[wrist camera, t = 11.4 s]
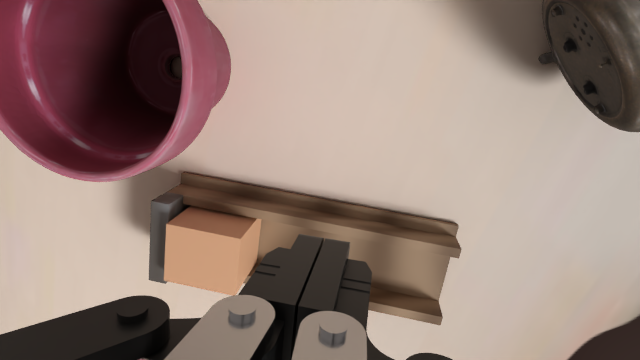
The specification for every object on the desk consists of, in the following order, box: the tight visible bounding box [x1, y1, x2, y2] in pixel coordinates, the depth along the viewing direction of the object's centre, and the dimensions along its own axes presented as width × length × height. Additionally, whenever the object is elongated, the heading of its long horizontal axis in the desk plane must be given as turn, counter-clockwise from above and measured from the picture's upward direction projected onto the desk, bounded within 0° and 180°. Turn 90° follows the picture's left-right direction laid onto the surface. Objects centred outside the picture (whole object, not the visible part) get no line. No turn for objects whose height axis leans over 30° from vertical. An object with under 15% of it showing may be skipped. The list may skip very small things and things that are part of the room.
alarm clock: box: [539, 0, 640, 132], centre depth 22 cm, size 11×5×16 cm, turn 31°
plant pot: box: [0, 0, 231, 182], centre depth 28 cm, size 14×14×13 cm
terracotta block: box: [164, 206, 262, 296], centre depth 34 cm, size 6×5×6 cm
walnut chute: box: [149, 172, 461, 325], centre depth 35 cm, size 25×9×6 cm, turn 81°
